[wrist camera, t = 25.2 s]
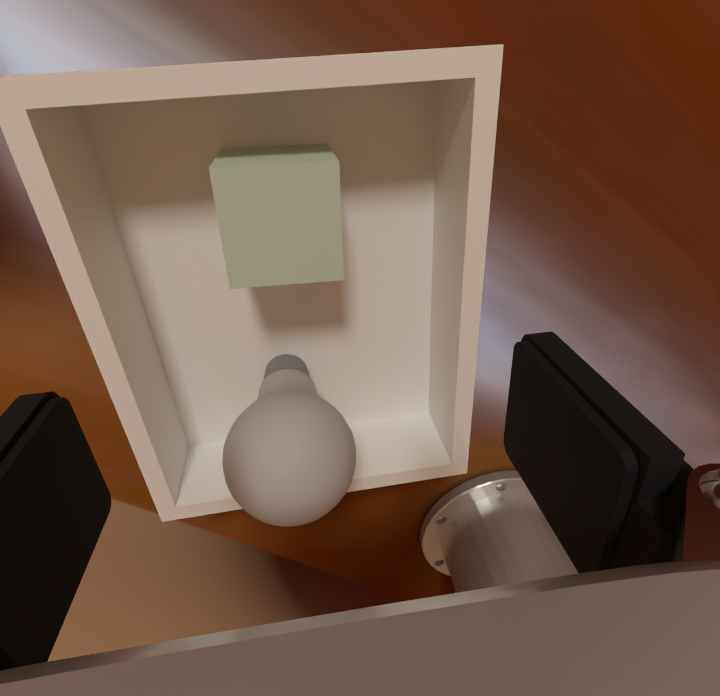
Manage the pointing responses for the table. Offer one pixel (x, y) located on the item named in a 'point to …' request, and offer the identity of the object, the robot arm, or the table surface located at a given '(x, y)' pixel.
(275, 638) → the robot arm
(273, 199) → the sage cube
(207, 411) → the tote
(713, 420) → the table surface
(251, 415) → the lightbulb
